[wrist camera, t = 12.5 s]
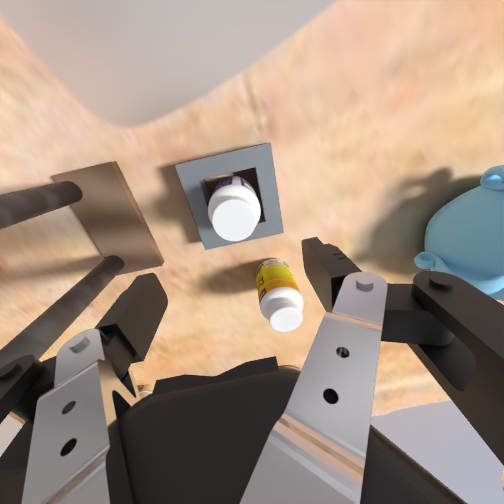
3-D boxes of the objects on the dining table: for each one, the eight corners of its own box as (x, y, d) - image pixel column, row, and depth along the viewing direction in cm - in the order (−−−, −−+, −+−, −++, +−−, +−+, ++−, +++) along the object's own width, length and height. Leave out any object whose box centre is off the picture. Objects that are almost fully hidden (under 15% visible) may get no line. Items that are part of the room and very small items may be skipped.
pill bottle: (214, 215, 28) (204, 247, 19) (213, 174, 25) (202, 188, 17) (253, 217, 28) (261, 249, 20) (256, 177, 26) (267, 192, 17)
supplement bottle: (254, 258, 31) (262, 303, 22) (290, 256, 32) (312, 300, 23) (255, 287, 34) (262, 338, 25) (288, 285, 34) (307, 335, 25)
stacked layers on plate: (151, 406, 49) (141, 435, 44) (119, 390, 45) (105, 420, 40) (182, 390, 46) (175, 418, 41) (151, 371, 43) (140, 400, 38)
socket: (279, 224, 29) (283, 232, 26) (207, 240, 29) (205, 250, 27) (266, 143, 24) (270, 142, 22) (181, 163, 25) (174, 165, 22)
